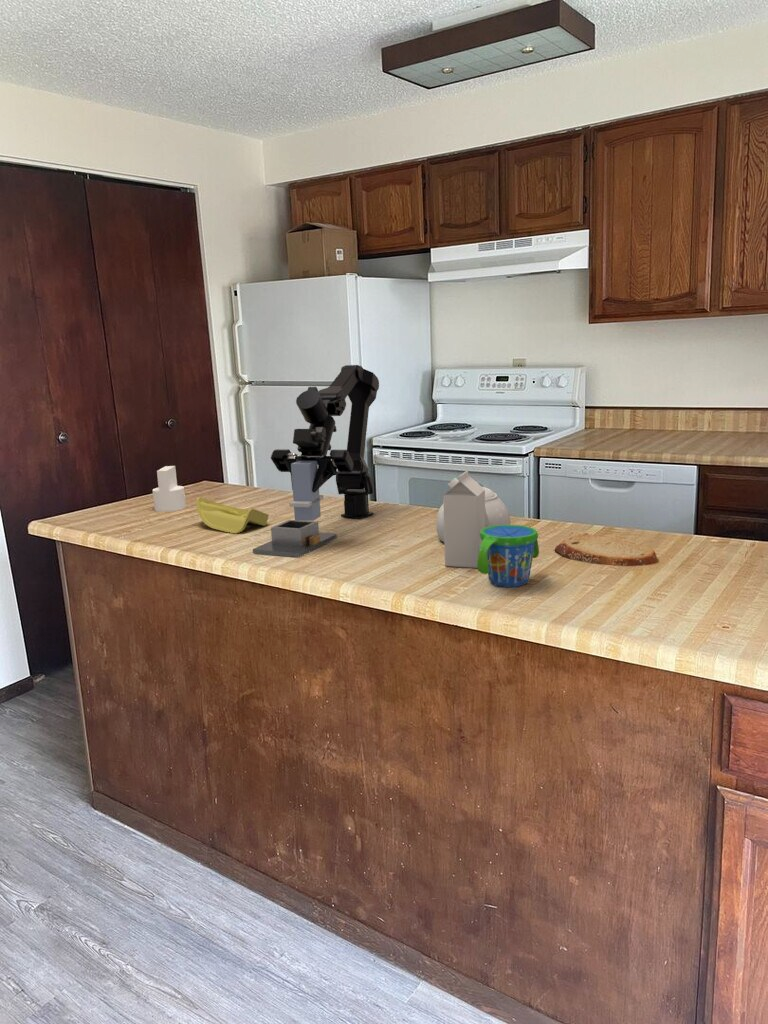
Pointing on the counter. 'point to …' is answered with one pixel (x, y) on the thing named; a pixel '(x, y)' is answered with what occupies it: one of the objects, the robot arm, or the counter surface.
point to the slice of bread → (606, 551)
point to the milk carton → (463, 521)
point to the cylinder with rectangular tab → (168, 491)
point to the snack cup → (507, 554)
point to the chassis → (294, 539)
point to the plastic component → (228, 516)
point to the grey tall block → (305, 491)
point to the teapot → (493, 513)
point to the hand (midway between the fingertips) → (303, 491)
